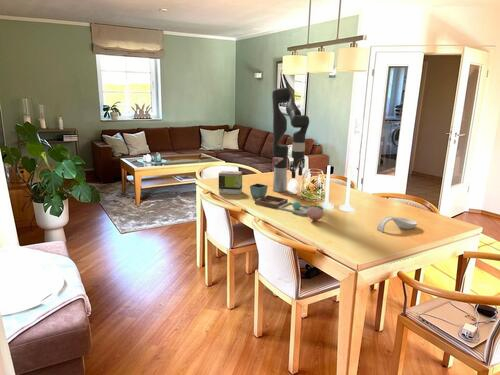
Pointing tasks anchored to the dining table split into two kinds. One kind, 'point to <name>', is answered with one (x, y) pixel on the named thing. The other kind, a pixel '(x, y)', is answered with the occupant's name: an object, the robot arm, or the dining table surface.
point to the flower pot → (258, 190)
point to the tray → (300, 212)
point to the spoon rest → (397, 223)
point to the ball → (296, 205)
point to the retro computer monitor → (230, 182)
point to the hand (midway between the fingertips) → (296, 176)
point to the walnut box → (271, 201)
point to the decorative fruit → (315, 212)
